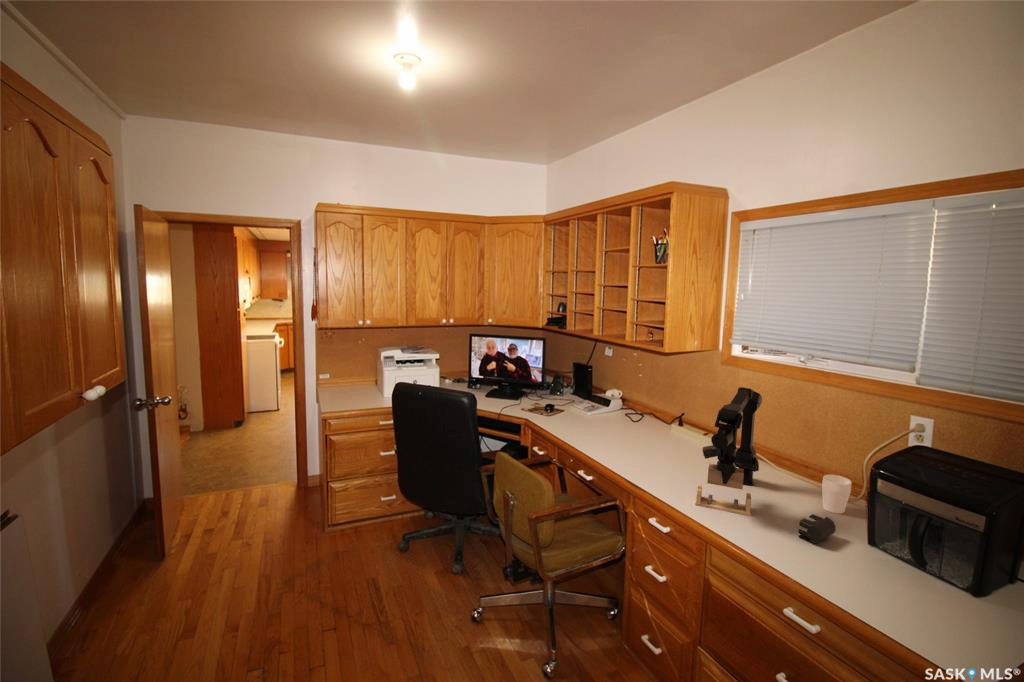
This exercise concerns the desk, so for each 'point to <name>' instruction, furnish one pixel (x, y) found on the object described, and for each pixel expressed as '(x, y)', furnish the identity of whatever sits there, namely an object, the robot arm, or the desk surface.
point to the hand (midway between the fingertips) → (724, 481)
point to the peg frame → (724, 503)
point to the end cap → (816, 529)
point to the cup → (835, 493)
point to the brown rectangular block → (733, 482)
